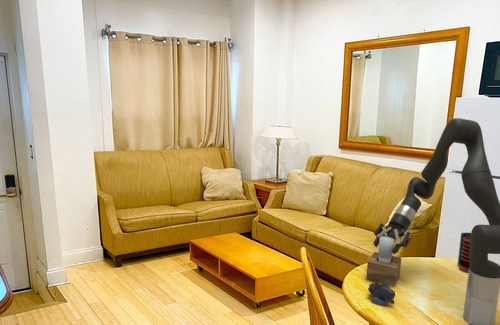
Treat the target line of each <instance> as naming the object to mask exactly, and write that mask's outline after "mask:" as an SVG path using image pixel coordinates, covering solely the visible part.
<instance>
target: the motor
mask: <svg viewBox="0 0 500 325" xmlns="http://www.w3.org/2000/svg"><path fill="white" fill-rule="evenodd" d="M470 236H471V232H461V233H460V240H459V250H458V257H457V264H456V265H457V267H458V270H459V271H461V272H463V273H466V274H469V266H470V263H469V251H470Z"/></svg>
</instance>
